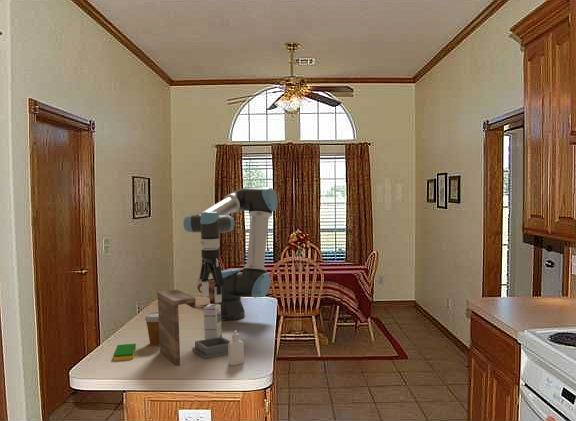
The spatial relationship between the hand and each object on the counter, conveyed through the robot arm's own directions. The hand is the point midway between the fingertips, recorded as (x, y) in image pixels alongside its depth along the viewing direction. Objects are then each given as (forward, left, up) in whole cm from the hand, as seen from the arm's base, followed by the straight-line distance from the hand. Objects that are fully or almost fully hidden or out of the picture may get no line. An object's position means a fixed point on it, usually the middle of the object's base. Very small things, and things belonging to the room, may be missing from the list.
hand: (211, 299), depth 222 cm
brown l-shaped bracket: (+20, +13, -17) cm, 29 cm away
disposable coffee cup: (+21, -9, -17) cm, 28 cm away
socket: (+6, +15, -17) cm, 23 cm away
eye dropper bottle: (+5, +33, -17) cm, 37 cm away
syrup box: (0, 0, -17) cm, 17 cm away
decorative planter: (-28, -63, -17) cm, 71 cm away
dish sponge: (+36, -2, -18) cm, 40 cm away
